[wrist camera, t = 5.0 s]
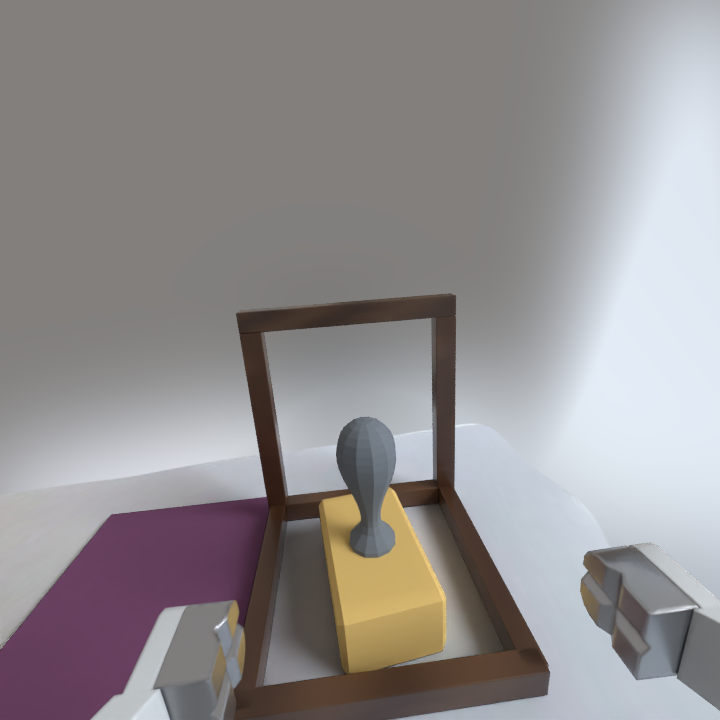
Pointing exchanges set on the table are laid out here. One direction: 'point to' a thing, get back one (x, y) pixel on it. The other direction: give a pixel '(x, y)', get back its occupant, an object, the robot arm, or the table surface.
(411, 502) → the stamp rack
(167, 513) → the felt pad
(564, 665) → the table surface
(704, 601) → the robot arm
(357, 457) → the rubber stamp
